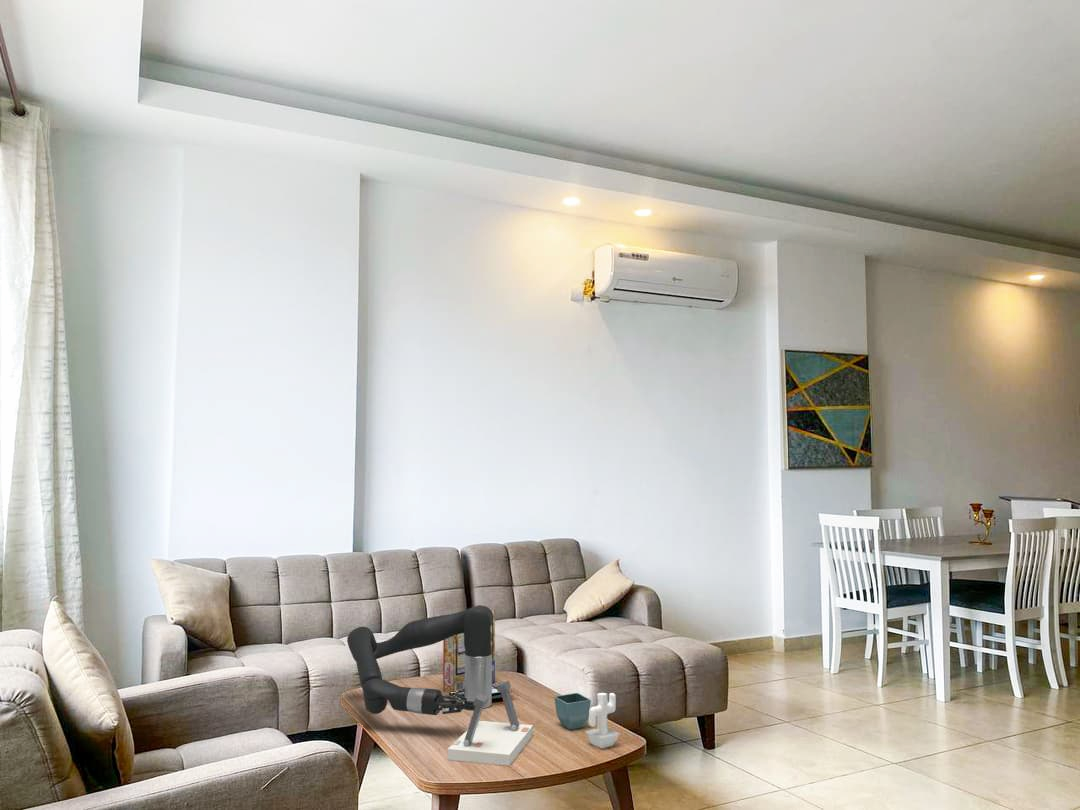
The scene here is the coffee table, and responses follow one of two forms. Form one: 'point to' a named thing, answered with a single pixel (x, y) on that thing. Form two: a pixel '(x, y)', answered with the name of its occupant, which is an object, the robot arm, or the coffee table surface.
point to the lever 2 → (508, 704)
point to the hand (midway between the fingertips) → (477, 706)
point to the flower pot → (572, 710)
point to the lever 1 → (475, 718)
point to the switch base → (492, 744)
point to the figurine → (602, 721)
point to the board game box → (460, 661)
